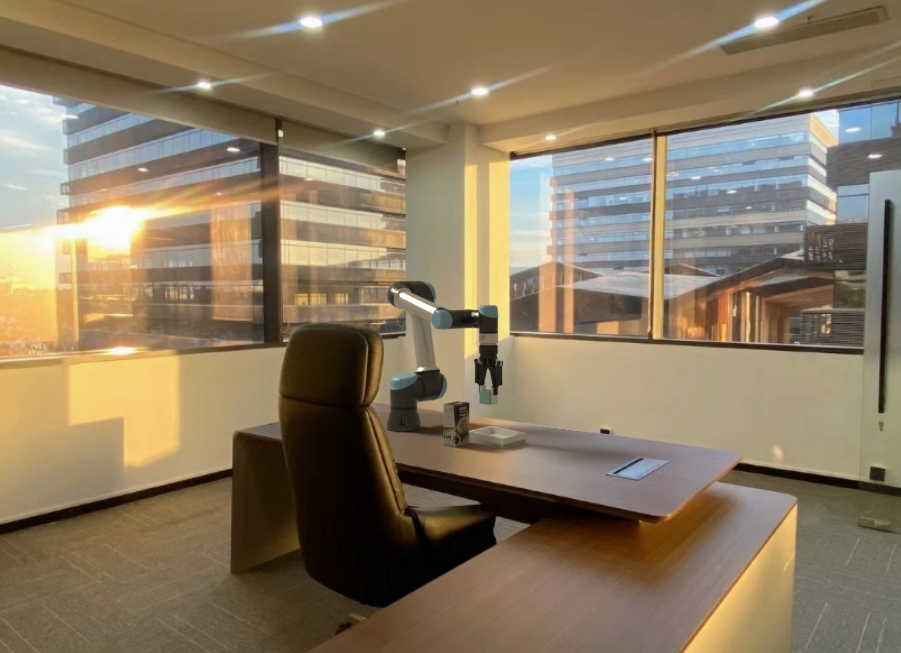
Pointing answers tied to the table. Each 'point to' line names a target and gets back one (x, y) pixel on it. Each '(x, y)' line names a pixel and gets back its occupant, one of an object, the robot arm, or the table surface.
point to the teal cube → (485, 397)
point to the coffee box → (456, 424)
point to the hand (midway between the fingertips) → (488, 402)
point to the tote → (497, 437)
